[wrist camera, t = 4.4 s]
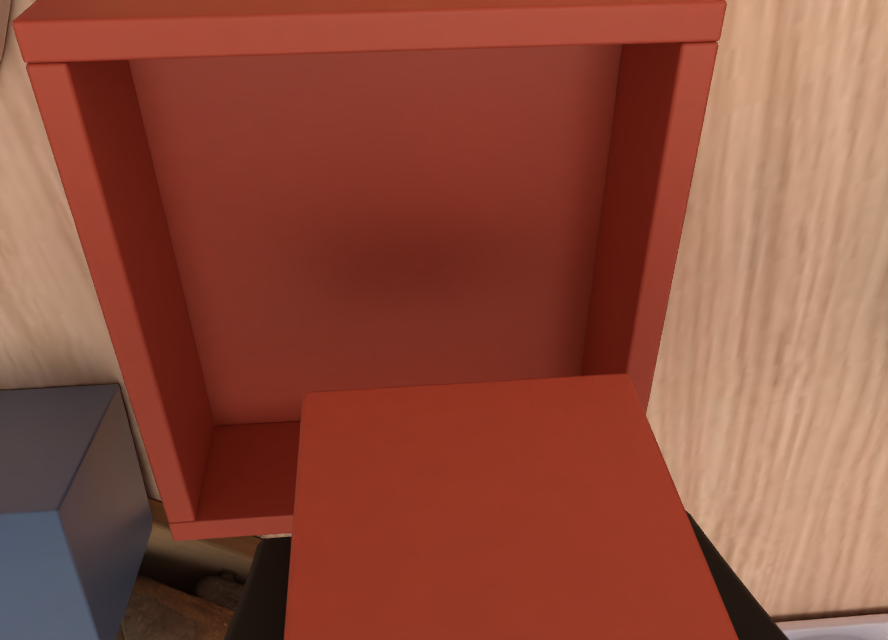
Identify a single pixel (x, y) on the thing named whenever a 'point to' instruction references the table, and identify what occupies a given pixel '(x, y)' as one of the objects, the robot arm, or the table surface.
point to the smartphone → (3, 22)
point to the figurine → (186, 585)
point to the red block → (492, 518)
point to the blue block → (68, 513)
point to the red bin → (363, 205)
